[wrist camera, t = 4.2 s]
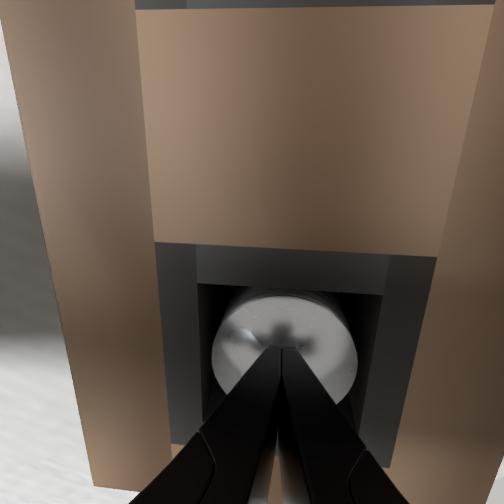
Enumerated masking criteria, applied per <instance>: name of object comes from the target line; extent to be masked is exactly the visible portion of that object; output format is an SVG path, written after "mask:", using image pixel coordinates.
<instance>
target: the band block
mask: <svg viewBox="0 0 504 504" xmlns="http://www.w3.org/2000/svg"><path fill="white" fill-rule="evenodd" d="M0 20H1V25H2V30H3V35H4V40H5V45H6V50H7V55H8V60H9V65H10V70H11V75H12V80H13V85H14V90H15V95H16V100H17V105H18V110H19V115H20V120H21V125H22V130H23V135H24V140H25V145H26V150H27V155H28V160H29V165H30V170H31V175H32V180H33V185H34V190H35V195H36V200H37V205H38V210H39V215H40V220H41V225H42V230H43V235H44V240H45V245H46V250H47V255H48V260H49V265H50V270H51V275H52V280H53V285H54V290H55V295H56V300H57V305H58V310H59V315H60V320H61V325H62V330H63V334H64V339H65V344H66V349H67V354H68V359H69V364H70V369H71V374H72V379H73V384H74V389H75V394H76V399H77V404H78V409H79V414H80V419H81V424H82V429H83V434H84V439H85V444H86V449H87V454H88V459H89V464H90V469H91V474H92V479H93V484H94V486H98V487H105V488H113V489H121V490H129V491H137V492H141V491H142V490H143V489H144V488H145V487H146V486H147V485H148V484H149V483H150V482H151V481H152V480H153V479H154V478H155V477H156V476H157V475H158V474H159V473H160V472H161V471H162V470H163V469H164V468H165V467H166V466H167V465H168V464H169V463H170V462H171V461H172V460H173V459H174V457H175V456H176V455H177V454H178V453H179V452H180V451H181V449H182V448H183V447H184V446H185V445H186V444H187V442H188V441H189V440H190V439H191V438H192V436H193V435H194V434H195V433H196V432H198V429H199V428H200V427H201V426H202V425H203V423H204V422H205V421H206V420H207V418H208V417H209V416H210V415H211V414H212V412H213V411H214V410H215V409H216V408H217V406H218V405H219V404H220V403H221V402H222V400H223V399H224V398H225V397H226V395H227V394H226V393H225V392H224V390H223V389H222V388H221V386H220V384H219V383H218V381H217V379H216V376H215V374H214V370H213V366H212V348H213V343H214V340H215V337H216V335H217V332H218V329H219V326H220V324H221V321H222V318H223V315H224V313H225V310H226V307H227V305H228V302H229V299H230V296H231V285H236V286H251V287H267V288H282V289H297V290H313V291H328V292H339V299H340V302H341V305H342V309H343V312H344V315H345V318H346V321H347V324H348V327H349V330H350V333H351V336H352V339H353V342H354V345H355V348H356V352H357V361H358V364H357V373H356V377H355V380H354V382H353V385H352V387H351V388H350V390H349V391H348V393H347V394H346V395H345V397H344V398H343V399H342V400H341V401H340V402H339V403H338V404H336V405H337V406H338V407H339V409H340V410H341V412H342V413H343V414H344V416H345V417H346V419H347V420H348V421H349V423H350V424H351V426H352V427H353V428H354V430H355V431H356V433H357V434H358V435H359V437H360V438H361V440H362V441H363V442H364V444H365V445H366V447H367V450H369V451H370V452H371V453H372V455H373V456H374V458H375V459H376V461H377V462H378V463H379V465H380V466H381V468H382V469H383V470H384V472H385V473H386V474H387V475H388V477H389V478H390V479H391V481H392V482H393V483H394V485H395V486H396V487H397V489H398V490H399V491H400V493H401V494H402V495H403V496H404V497H405V499H406V500H407V501H408V502H409V503H410V504H485V503H486V501H487V498H488V495H489V493H490V490H491V488H492V485H493V482H494V480H495V477H496V475H497V472H498V469H499V467H500V464H501V462H502V459H503V456H504V0H0ZM267 504H282V491H281V478H280V465H279V453H278V434H277V445H276V452H275V458H274V464H273V471H272V477H271V483H270V489H269V495H268V502H267Z"/></svg>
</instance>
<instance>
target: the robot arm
mask: <svg viewBox="0 0 504 504" xmlns="http://www.w3.org/2000/svg"><path fill="white" fill-rule="evenodd" d="M277 434H278V453H279V465H280V478H281V491H282V504H410V503H409V502H408V501H407V500H406V499H405V497H404V496H403V495H402V494H401V493H400V491H399V490H398V489H397V487H396V486H395V485H394V483H393V482H392V481H391V479H390V478H389V477H388V475H387V474H386V473H385V472H384V470H383V469H382V468H381V466H380V465H379V463H378V462H377V461H376V459H375V458H374V456H373V455H372V453H371V452H370V451H369V450H367V447H366V445H365V444H364V442H363V441H362V440H361V438H360V437H359V435H358V434H357V433H356V431H355V430H354V428H353V427H352V426H351V424H350V423H349V421H348V420H347V419H346V417H345V416H344V414H343V413H342V412H341V410H340V409H339V407H338V406H337V405H336V403H335V402H334V400H333V399H332V398H331V396H330V395H329V393H328V392H327V390H326V389H325V388H324V386H323V385H322V383H321V382H320V381H319V379H318V378H317V376H316V375H315V374H314V372H313V371H312V369H311V368H310V367H309V365H308V364H307V362H306V361H305V360H304V358H303V357H302V355H301V354H300V353H299V351H297V350H291V349H283V350H282V351H281V349H279V348H265V350H264V351H263V352H262V353H261V354H260V356H259V357H258V358H257V359H256V360H255V362H254V363H253V364H252V365H251V366H250V368H249V369H248V370H247V371H246V372H245V374H244V375H243V376H242V377H241V379H240V380H239V381H238V382H237V383H236V385H235V386H234V387H233V388H232V389H231V391H230V392H229V393H228V394H227V395H226V397H225V398H224V399H223V400H222V402H221V403H220V404H219V405H218V406H217V408H216V409H215V410H214V411H213V412H212V414H211V415H210V416H209V417H208V418H207V420H206V421H205V422H204V423H203V425H202V426H201V427H200V428H199V429H198V432H196V433H195V434H194V435H193V436H192V438H191V439H190V440H189V441H188V442H187V444H186V445H185V446H184V447H183V448H182V449H181V451H180V452H179V453H178V454H177V455H176V456H175V457H174V459H173V460H172V461H171V462H170V463H169V464H168V465H167V466H166V467H165V468H164V469H163V470H162V471H161V472H160V473H159V474H158V475H157V476H156V477H155V478H154V479H153V480H152V481H151V482H150V483H149V484H148V485H147V486H146V487H145V488H144V489H143V490H142V491H141V492H140V493H139V494H138V495H137V496H136V497H135V498H134V499H133V500H132V501H131V502H130V503H129V504H267V502H268V495H269V489H270V483H271V477H272V471H273V464H274V458H275V452H276V445H277Z"/></svg>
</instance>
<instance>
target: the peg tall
mask: <svg viewBox="0 0 504 504" xmlns="http://www.w3.org/2000/svg"><path fill="white" fill-rule="evenodd" d="M265 348H279V349H281V351H282V350H283V349H291V350H297V351H299V353H300V354H301V355H302V357H303V358H304V360H305V361H306V362H307V364H308V365H309V367H310V368H311V369H312V371H313V372H314V374H315V375H316V376H317V378H318V379H319V381H320V382H321V383H322V385H323V386H324V388H325V389H326V390H327V392H328V393H329V395H330V396H331V398H332V399H333V400H334V402H335V403H336V404H338V403H339V402H340V401H341V400H342V399H343V398H344V397H345V395H346V394H347V393H348V391H349V390H350V388H351V387H352V385H353V382H354V380H355V377H356V373H357V364H358V361H357V352H356V348H355V345H354V342H353V339H352V336H351V333H350V330H349V327H348V324H347V321H346V318H345V315H344V312H343V309H342V305H341V302H340V299H339V296H338V293H337V292H328V291H313V290H297V289H282V288H267V287H251V286H236V285H235V286H234V288H233V291H232V294H231V296H230V299H229V302H228V305H227V307H226V310H225V313H224V315H223V318H222V321H221V324H220V326H219V329H218V332H217V335H216V337H215V340H214V343H213V348H212V366H213V370H214V374H215V376H216V379H217V381H218V383H219V384H220V386H221V388H222V389H223V390H224V392H225V393H226V394H228V393H229V392H230V391H231V389H232V388H233V387H234V386H235V385H236V383H237V382H238V381H239V380H240V379H241V377H242V376H243V375H244V374H245V372H246V371H247V370H248V369H249V368H250V366H251V365H252V364H253V363H254V362H255V360H256V359H257V358H258V357H259V356H260V354H261V353H262V352H263V351H264V350H265Z"/></svg>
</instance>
